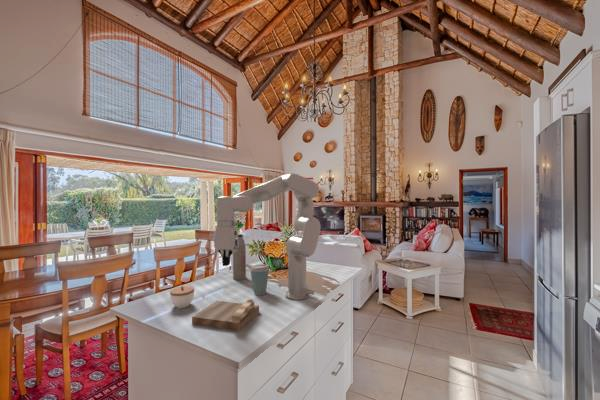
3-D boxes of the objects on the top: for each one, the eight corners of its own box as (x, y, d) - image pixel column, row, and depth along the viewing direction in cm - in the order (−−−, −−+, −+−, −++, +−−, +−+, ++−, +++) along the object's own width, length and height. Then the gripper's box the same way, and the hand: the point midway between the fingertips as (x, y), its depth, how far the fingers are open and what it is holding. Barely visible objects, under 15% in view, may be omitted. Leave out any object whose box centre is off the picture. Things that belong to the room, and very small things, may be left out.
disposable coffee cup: (246, 295, 146) (246, 267, 145) (255, 288, 156) (255, 262, 156) (265, 297, 143) (265, 268, 143) (272, 290, 153) (272, 263, 153)
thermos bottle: (248, 277, 177) (247, 234, 177) (239, 280, 171) (239, 236, 170) (239, 275, 182) (238, 233, 181) (230, 278, 175) (229, 235, 175)
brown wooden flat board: (259, 312, 124) (259, 305, 124) (239, 330, 107) (239, 322, 107) (216, 306, 131) (216, 300, 131) (192, 323, 113) (191, 316, 113)
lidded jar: (199, 302, 136) (198, 284, 136) (183, 311, 126) (183, 291, 125) (181, 300, 139) (181, 282, 139) (165, 308, 129) (164, 288, 129)
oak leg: (247, 305, 124) (247, 299, 124) (254, 306, 123) (254, 299, 123) (231, 322, 107) (231, 315, 107) (238, 323, 106) (238, 315, 106)
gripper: (244, 223, 123) (245, 264, 124) (215, 222, 127) (216, 262, 128) (236, 225, 116) (237, 268, 116) (206, 224, 120) (206, 266, 121)
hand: (226, 265), depth 122 cm, fingers closed
